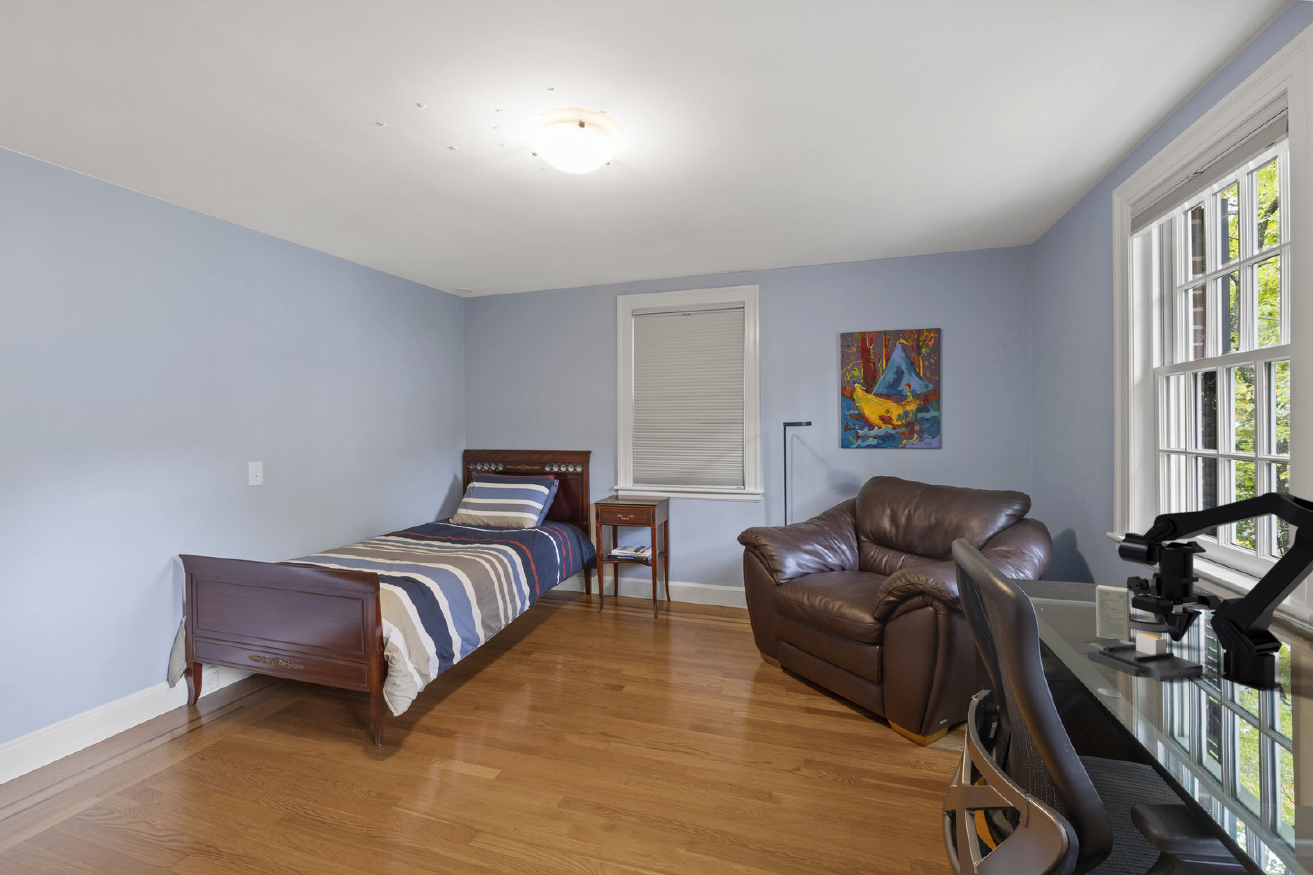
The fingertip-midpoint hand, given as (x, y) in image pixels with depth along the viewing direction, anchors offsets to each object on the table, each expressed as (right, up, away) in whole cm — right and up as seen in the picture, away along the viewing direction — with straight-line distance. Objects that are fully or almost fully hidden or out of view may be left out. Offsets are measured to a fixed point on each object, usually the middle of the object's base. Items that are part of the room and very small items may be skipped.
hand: (1175, 641), depth 129 cm
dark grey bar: (-17, -4, -5) cm, 19 cm away
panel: (-10, -4, -3) cm, 11 cm away
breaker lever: (-7, -2, -2) cm, 8 cm away
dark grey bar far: (-11, -4, +7) cm, 13 cm away
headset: (+14, -5, +27) cm, 31 cm away
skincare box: (-3, -4, +14) cm, 15 cm away
